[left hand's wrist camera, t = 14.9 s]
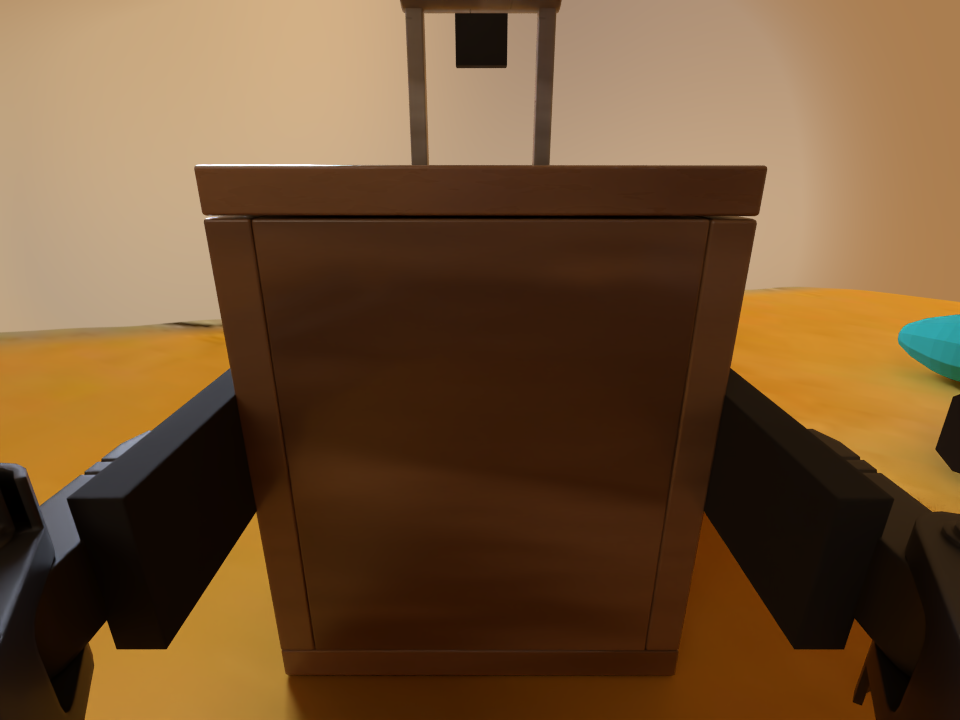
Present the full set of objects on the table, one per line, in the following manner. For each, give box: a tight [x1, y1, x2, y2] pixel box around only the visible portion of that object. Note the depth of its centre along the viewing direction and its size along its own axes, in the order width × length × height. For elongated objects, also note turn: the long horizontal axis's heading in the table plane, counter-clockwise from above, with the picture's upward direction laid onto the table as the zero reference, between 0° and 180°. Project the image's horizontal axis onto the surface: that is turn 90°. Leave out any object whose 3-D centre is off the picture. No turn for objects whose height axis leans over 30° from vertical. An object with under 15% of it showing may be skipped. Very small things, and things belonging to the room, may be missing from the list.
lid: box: [194, 0, 767, 216], centre depth 15 cm, size 18×10×9 cm, turn 0°
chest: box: [204, 215, 757, 675], centre depth 18 cm, size 17×10×11 cm, turn 0°
